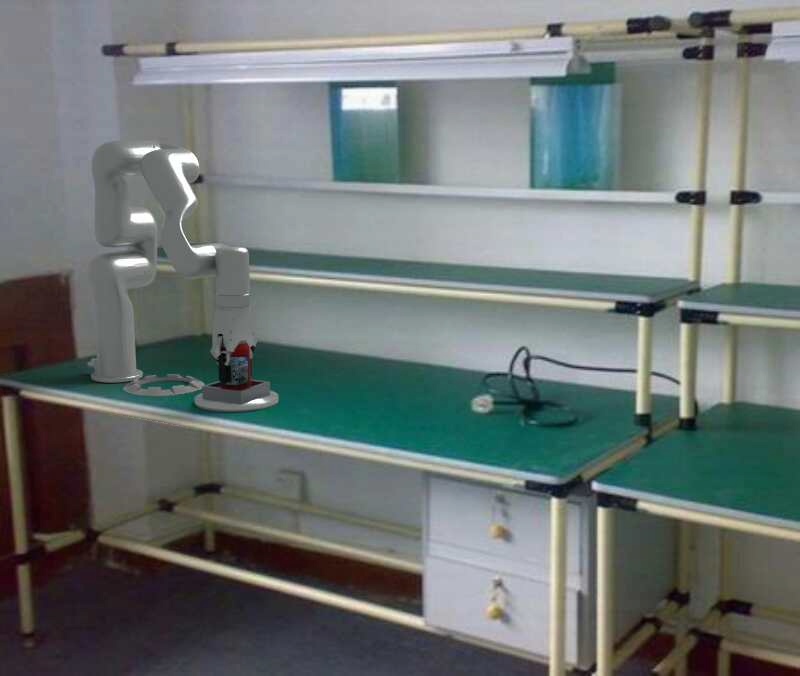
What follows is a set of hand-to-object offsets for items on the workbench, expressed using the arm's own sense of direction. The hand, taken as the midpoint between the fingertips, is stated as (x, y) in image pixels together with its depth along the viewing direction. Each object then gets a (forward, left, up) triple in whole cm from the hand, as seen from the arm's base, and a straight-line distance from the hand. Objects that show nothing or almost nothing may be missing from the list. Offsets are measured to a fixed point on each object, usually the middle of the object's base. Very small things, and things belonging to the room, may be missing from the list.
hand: (235, 377), depth 259 cm
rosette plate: (0, 0, -6) cm, 6 cm away
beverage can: (0, 0, -4) cm, 4 cm away
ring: (-25, +4, -6) cm, 26 cm away
